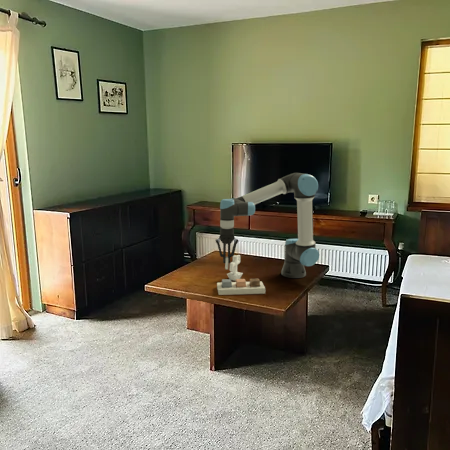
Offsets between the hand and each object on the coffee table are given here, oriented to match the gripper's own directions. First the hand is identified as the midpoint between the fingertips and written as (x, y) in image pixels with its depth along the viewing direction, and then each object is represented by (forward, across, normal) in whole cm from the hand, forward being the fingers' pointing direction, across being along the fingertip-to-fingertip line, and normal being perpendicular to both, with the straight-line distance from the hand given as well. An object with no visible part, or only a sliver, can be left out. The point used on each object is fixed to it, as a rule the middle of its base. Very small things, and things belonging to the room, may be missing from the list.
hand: (226, 268), depth 248 cm
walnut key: (+11, -16, 0) cm, 19 cm away
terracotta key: (+11, -8, 0) cm, 14 cm away
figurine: (+13, -7, -20) cm, 25 cm away
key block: (+13, -8, 0) cm, 15 cm away
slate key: (+11, 0, 0) cm, 11 cm away
